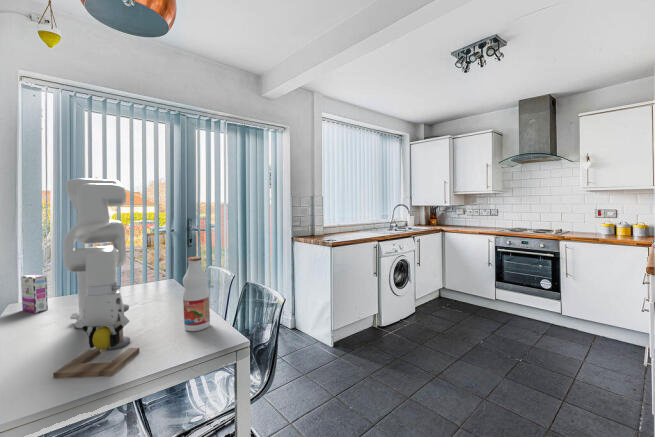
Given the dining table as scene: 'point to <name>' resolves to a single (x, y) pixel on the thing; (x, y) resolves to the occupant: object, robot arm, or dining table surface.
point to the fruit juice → (195, 297)
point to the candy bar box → (34, 293)
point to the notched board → (94, 365)
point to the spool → (121, 335)
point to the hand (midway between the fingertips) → (104, 345)
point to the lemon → (102, 338)
